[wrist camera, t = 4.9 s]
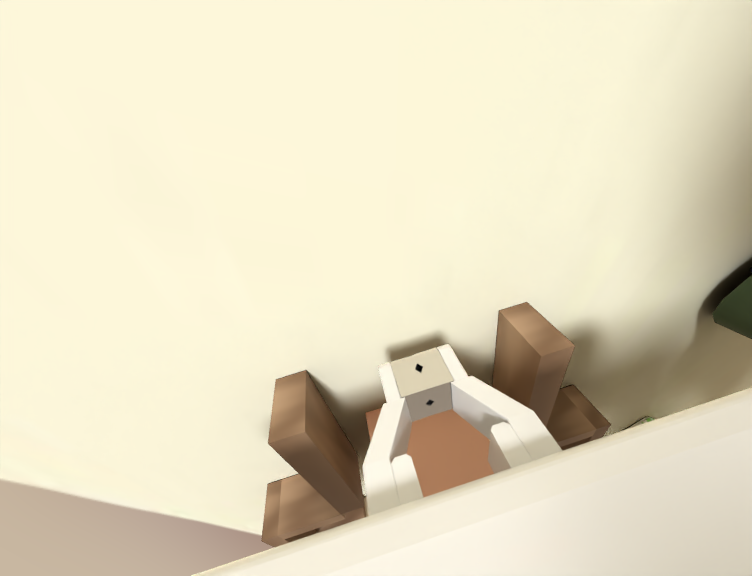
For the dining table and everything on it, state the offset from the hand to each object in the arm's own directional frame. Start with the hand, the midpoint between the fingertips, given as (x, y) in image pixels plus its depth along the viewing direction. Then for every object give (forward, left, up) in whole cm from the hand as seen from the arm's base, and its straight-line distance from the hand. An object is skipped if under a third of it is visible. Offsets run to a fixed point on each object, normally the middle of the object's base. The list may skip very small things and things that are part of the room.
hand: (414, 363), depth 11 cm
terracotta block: (0, +9, -2) cm, 9 cm away
